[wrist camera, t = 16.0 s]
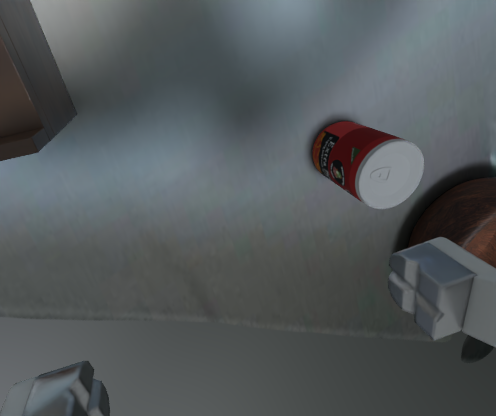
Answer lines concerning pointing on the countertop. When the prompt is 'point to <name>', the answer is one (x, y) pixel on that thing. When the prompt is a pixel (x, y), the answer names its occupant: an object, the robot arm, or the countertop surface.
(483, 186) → the wooden bowl
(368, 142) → the canned food
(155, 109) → the countertop surface
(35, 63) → the shelf
